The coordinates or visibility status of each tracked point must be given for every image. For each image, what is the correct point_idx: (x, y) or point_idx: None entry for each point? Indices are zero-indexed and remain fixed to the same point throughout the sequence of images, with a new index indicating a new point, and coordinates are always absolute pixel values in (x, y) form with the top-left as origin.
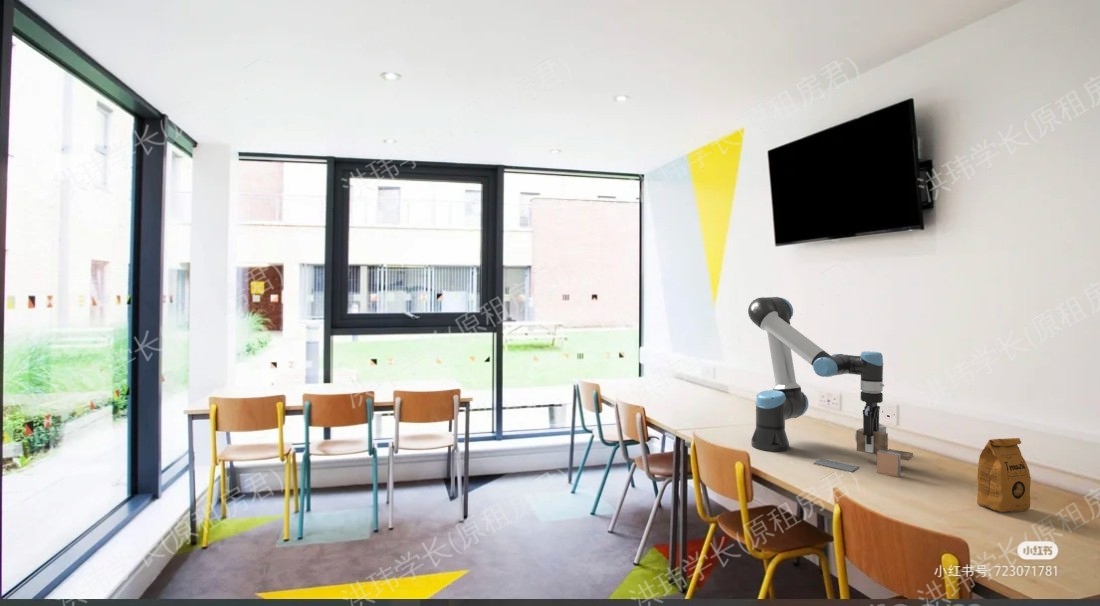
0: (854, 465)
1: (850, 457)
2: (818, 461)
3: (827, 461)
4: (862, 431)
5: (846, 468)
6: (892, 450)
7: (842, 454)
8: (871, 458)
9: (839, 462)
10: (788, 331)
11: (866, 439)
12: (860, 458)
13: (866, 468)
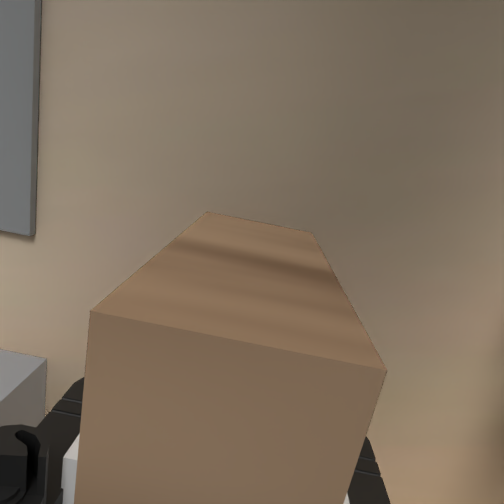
0: (26, 200)
1: (309, 134)
2: None
3: None
4: (81, 458)
5: None
6: None
7: (384, 45)
8: (375, 297)
9: (25, 67)
10: None
11: (44, 421)
12: (324, 218)
13: (50, 283)
